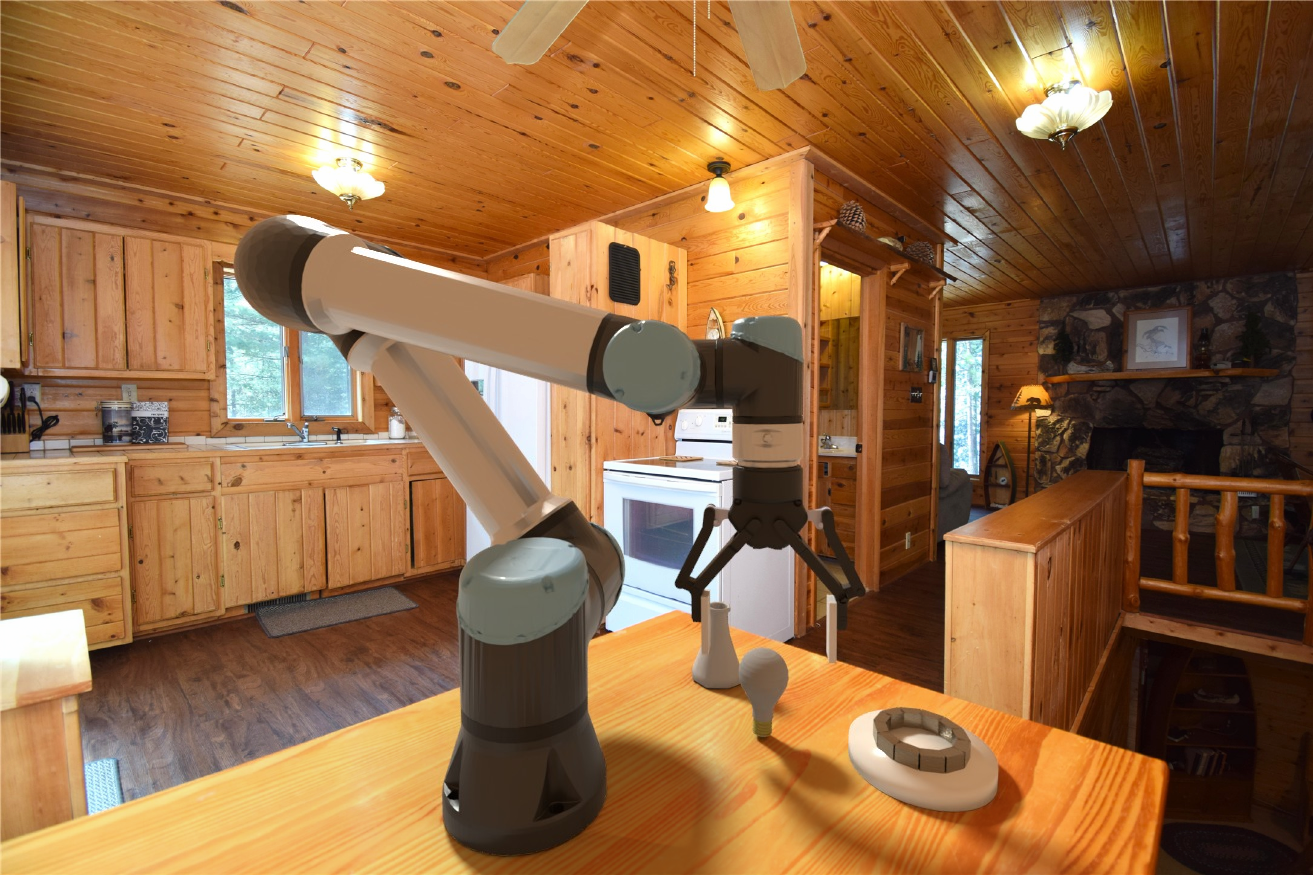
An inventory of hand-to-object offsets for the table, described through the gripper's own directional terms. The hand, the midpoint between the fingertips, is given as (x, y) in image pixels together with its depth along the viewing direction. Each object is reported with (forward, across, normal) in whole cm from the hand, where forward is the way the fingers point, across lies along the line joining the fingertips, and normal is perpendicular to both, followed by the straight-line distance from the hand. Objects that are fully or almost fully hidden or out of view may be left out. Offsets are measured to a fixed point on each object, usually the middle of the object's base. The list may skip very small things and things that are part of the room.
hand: (767, 653), depth 65 cm
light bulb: (+10, -1, 0) cm, 10 cm away
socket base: (+10, +15, -2) cm, 18 cm away
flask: (+10, -7, +13) cm, 18 cm away
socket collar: (+8, +15, -2) cm, 17 cm away
